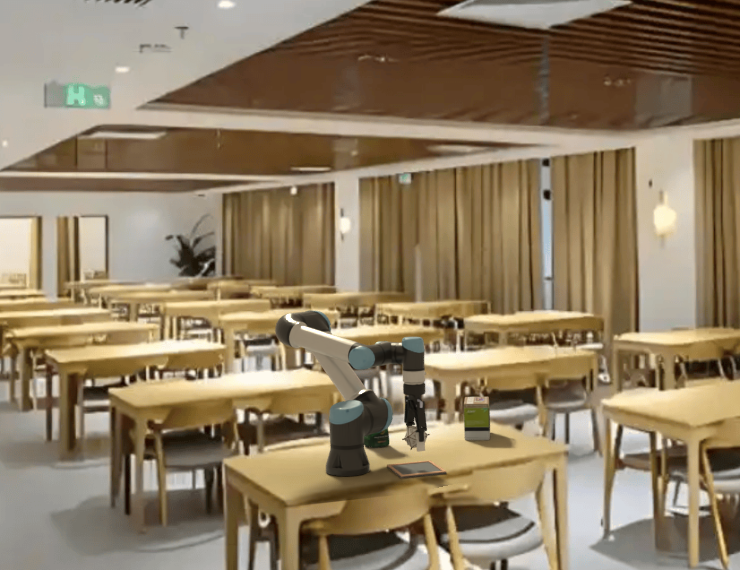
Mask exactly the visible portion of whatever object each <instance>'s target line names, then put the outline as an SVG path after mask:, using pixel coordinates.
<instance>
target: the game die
mask: <svg viewBox="0 0 740 570" xmlns="http://www.w3.org/2000/svg"><path fill="white" fill-rule="evenodd" d="M407 427H408V426H406V432H405V436H404V438H402V441H405V442H406V444H407V443H408V444H409V445H408V446H409V447H410V451H411V450H413V449H417V443H416V432H415V431H416V430H417V427H416V426H415V427H408V429H407ZM430 435H431V434H430V433H427V431H425V442H426V440H427V438H428V436H430Z"/></svg>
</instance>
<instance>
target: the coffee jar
mask: <svg viewBox="0 0 740 570" xmlns="http://www.w3.org/2000/svg"><path fill="white" fill-rule="evenodd" d="M380 398H384V399H386V400H387V401H388V402H389V399H388V398H385V397H380ZM389 433H390V432H389V427H388V428H387V429H385V430H383V431H381V432H379V433H374V434H370V435H367V436H364V447H366V448H371V449H379V448H378V447H380V448H384V447H385V448H386V447H388V446H389V445H390V435H389Z"/></svg>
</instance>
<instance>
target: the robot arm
mask: <svg viewBox="0 0 740 570" xmlns="http://www.w3.org/2000/svg"><path fill="white" fill-rule="evenodd" d="M331 325H332V324H331V320H330V319H329V317H328V316H327V314H325V313H324V312H322V311H320V310H313V309H312V310H311V309H310V310H306V311H301V312H289V313H285V314H284V315H282V316H281V317H280V318H279V319H277V322H276V324H275V328H274V331H275V336H276V339H278V341H279V342H280V343H281V344H283V345H285V346H288V347H291V348H293V349H300V348H303V349H304V351H305V352H306V353H309V354H312V355H313V356H314V358H315V359H316V361H317V362H318V363H319V365H320V367H321V368H322V369H323V370H324V372H325V373H326V375H327V376H328V378H329V380H330V381H331V382H332V383H333V385H334V386H335V388H336V389H337V392H339V393H340V395H341V396H342V398H343V399H344V400H342V401H339V402H336V403H334V404H332V405H331V407H330V408H329V414H328V415H329V416H328V422H329V444H330V446H329V447H330V449H329V453H328V456H327V459H326V462H325V463H326V464H325V473H326V474H328V475H331V476H335V475H336V476H337V477H354V476H355V477H356V476H361V475H364V474H367V473H369V472H370V471H371V466H370V465H371V464H370V461H369V458H368V455H367V452H366V449H365V445H364V436H367V435H370V434H374V433H379V432H381V431H383V430H385V429H387V428H388V429H389V427H390V426H391V424H392V423H393V422H392V421H393V418H394V417H393V416H394V411H393V408H392V405H391V403H390V402H389V400H388V399H387V398H386V399H387V400H388V401H387V400H386V399H384V398H385V397H383V398H381V397H378V396H377V394H376V393H375V391H374V390H373V389H369V388H366V386H365V385H364V383H363V382H362V380H361V379H360V378H359V377H358V375H357V373H356V372H355V370H363V371H364V370H368V369H371V368H375V367H381V366H386V365H402V382H403V385H402V387H403V388H402V391H403V392H402V393H403V395H405V396H404V413H403V414H404V415H403V416H404V417H403V418H404V419H403V422H404V424H405V427H406V430H407V429H408V427H417V430H416V431H415V432H416V443H417V447H416V452H425V451H426V441H425V432H427V431H428V425H427V417H426V416H427V415H426V407H425V405H426V402H425V401H424V400H423V401H422V398H421V397H422V396H423V395H425V394H426V383H425V381H426V376H425V375H427V372H426V371H425V370H426V368H425V351H426V349H425V343H424V339H423V337H420V336H404V337H403V338H402V340H401V342H397V341H396V342H395V341H394V342H393V341H387V340H384V341H383V340H382V341H377V342H375V343H374V344H370V345H369V344H364V343H360V342H358V341H355V340H353V339H352V340H351V339H349V338H345V337H342V336H339V335H335V334H333V333H332V327H331ZM351 366H352V367H353V368H352V367H351ZM354 369H355V370H354ZM407 426H408V427H407ZM406 445H407V446H409V444H408V443H407V442H406Z"/></svg>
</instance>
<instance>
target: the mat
mask: <svg viewBox="0 0 740 570" xmlns="http://www.w3.org/2000/svg"><path fill="white" fill-rule="evenodd" d="M386 468H387V469H388V470H390V472H391V471H392V473H393V474H395V475H396V476H398V477H399V478H400V479H409V478H419V477H428V476H437V475H447V470H445V469H444V468H442V467H441V466H440V465H438V464H437V463H435V462H433V461H432V460H421V461H410V462H398V463H389V464H386Z"/></svg>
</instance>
